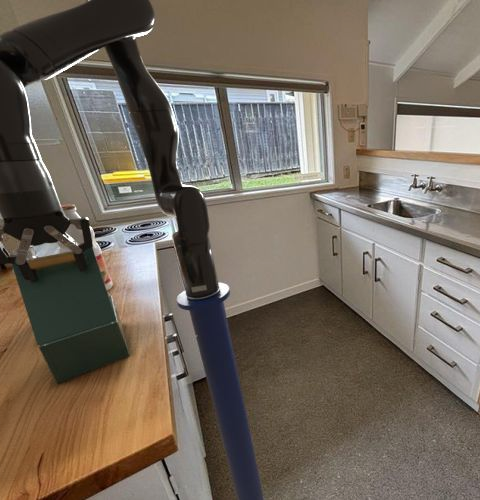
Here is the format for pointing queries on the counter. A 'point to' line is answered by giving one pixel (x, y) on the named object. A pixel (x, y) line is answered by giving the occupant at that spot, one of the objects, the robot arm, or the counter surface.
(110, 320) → the bin lid
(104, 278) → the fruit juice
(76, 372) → the bin
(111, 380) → the counter surface
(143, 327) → the counter surface
